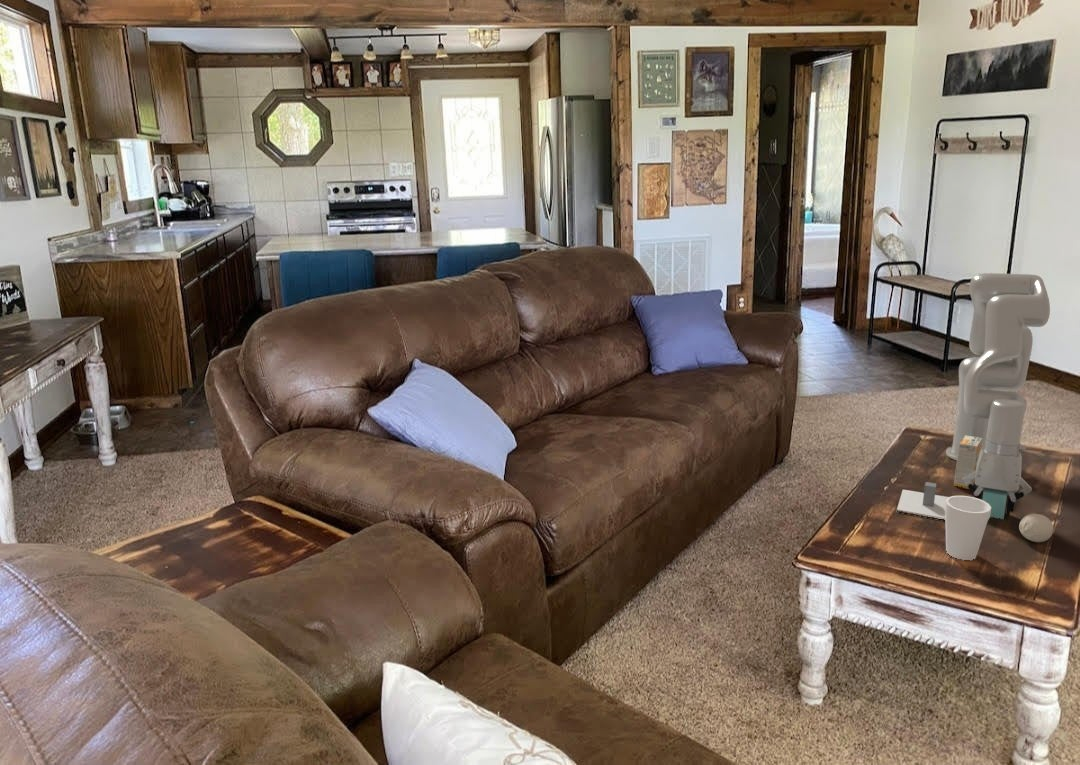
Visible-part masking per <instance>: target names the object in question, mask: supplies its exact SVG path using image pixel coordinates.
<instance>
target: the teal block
mask: <svg viewBox="0 0 1080 765" xmlns="http://www.w3.org/2000/svg"><path fill="white" fill-rule="evenodd" d="M1007 497H1008V491H1001V490H995V489H989V488H984V489H983V490H982V497H981V498H982V499H981V500H983V501H985V502H987V503H988V504H989V505H990V506H991V514H990V518H993V517H994V518H995V519H999V518H1000V519H999V520H1004V518H1005V513H1006V512H1005V510H1006V507H1007V501H1008V498H1007Z"/></svg>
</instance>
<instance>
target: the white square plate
mask: <svg viewBox="0 0 1080 765" xmlns="http://www.w3.org/2000/svg"><path fill="white" fill-rule="evenodd" d="M936 491H937V483H936V482H929V481H928V482H927V481H925V483H924V491H923V492H920V491H915V490H910V489H909V490H908V489H902V491H901V494H900V496H899V501H898V505H897V508H896V511H897V510H898V511H903V512H907V513H913V514H918V515H923V516H928V517H934V518H938V519H944V520H945V510H944V507H945V500H946V499H947V498H948V497H949V496H945V495H938V494H936ZM938 519H937V520H938Z"/></svg>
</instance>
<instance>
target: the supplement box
mask: <svg viewBox="0 0 1080 765" xmlns="http://www.w3.org/2000/svg"><path fill="white" fill-rule="evenodd" d="M981 444H982V438H979V437H973V436H966V435H965V436H964V437H963V439H962V440H961V442H960V443H959V449H958V457H957V461H956V467H955V472H954V481H953V487H957V486H958V488H961V487H962V488H961V489H967V490H970V489H969V488H968V486H967V485H966V484H965V483H964V482H963V481H962V479H963V477H964V476H966V475H968V474H970V473H971V472H973V471H975V470H976V466H977V461H978V457H979V454H980V451H981ZM970 481H971V482H972V483H973V484H974V485H975V478H973V479H971V480H970Z"/></svg>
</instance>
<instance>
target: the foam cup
mask: <svg viewBox="0 0 1080 765" xmlns="http://www.w3.org/2000/svg"><path fill="white" fill-rule="evenodd" d="M947 497H948V498H947V499H946V500H945V507H944V510H945V521H944V522H945V524H944V525H945V527H944V528H945V552H946V551H947V552H946V554H947V553H948V554H949V555H950V557H951V556H952V557H951V558H953V557H954V558H953V559H955V558H957V559H956V560H958V559H962V560H961V561H964V560H970V561H973V559H974V560H975V559H976V558H977V555H978V553H979V549H980V546H981V543H982V539H983V536H984V534H985V531H986V527H987V524H988V521H989V519H990V518H991V517H990V514H991V506H990V505H989V504H988V503H987V502H985V501H983V500H982V499H981V498H980V499H977V498H974V496H967V495H952V496H951V495H950V496H947ZM948 554H947V555H948ZM949 555H948V556H949Z"/></svg>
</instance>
